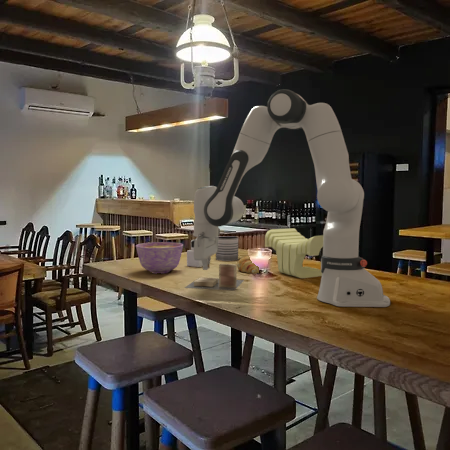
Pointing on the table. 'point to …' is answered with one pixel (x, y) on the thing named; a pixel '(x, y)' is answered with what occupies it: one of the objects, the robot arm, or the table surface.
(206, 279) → the tile
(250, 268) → the croissant
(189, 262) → the medicine bottle
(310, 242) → the slatted curved stool
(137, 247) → the purple bowl
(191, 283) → the board
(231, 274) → the tile
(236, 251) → the can
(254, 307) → the table surface
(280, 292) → the table surface
